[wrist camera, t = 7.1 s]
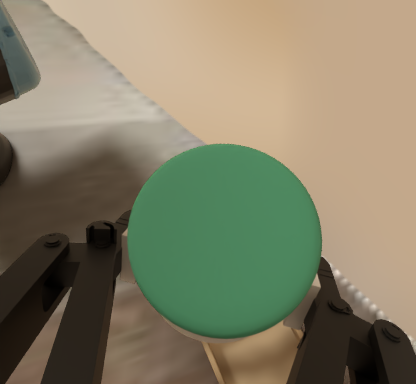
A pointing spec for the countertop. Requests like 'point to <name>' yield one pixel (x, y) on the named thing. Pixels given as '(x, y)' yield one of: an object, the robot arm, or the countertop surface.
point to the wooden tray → (256, 357)
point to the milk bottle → (224, 242)
